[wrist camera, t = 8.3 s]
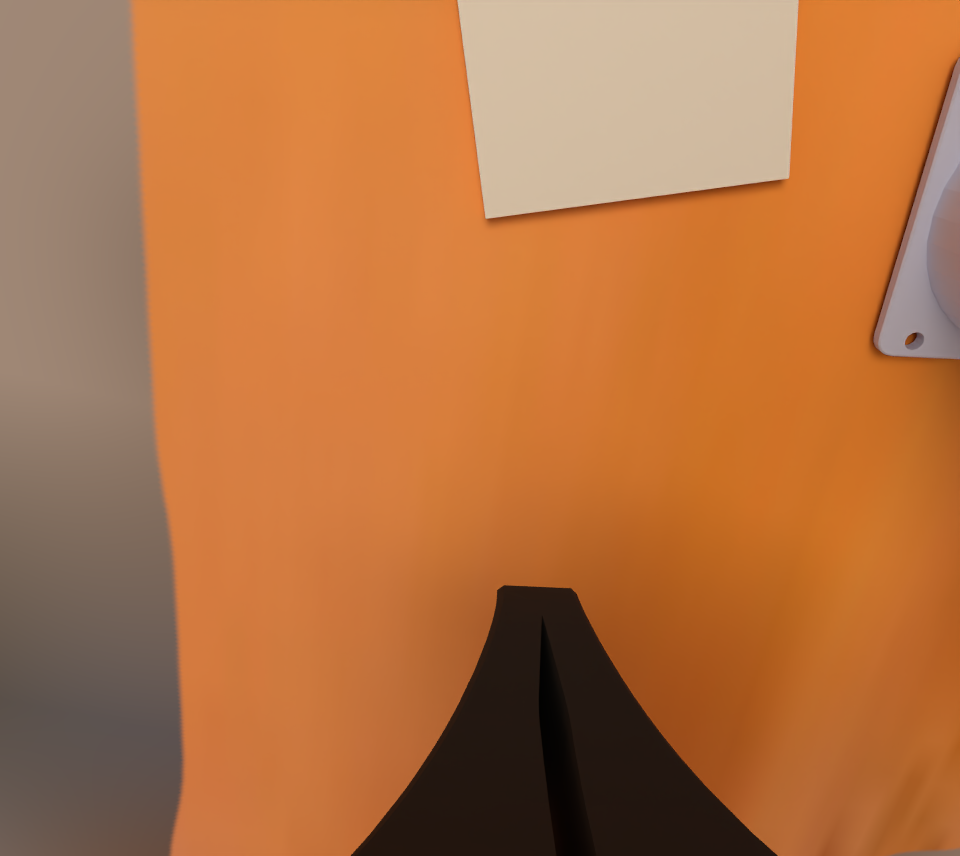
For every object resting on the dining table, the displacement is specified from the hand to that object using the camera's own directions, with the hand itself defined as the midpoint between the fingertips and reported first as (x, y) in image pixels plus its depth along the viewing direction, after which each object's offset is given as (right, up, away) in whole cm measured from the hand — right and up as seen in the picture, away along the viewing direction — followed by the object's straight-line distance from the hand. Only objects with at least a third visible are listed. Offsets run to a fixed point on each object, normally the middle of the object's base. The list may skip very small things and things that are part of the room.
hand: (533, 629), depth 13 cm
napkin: (+3, +13, +5) cm, 14 cm away
